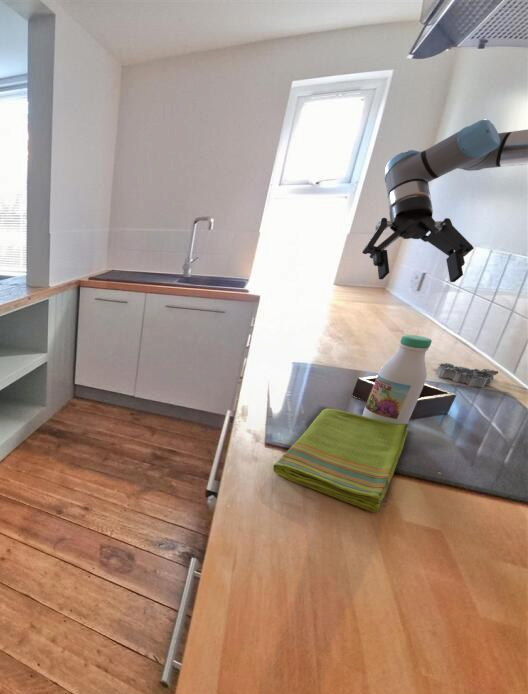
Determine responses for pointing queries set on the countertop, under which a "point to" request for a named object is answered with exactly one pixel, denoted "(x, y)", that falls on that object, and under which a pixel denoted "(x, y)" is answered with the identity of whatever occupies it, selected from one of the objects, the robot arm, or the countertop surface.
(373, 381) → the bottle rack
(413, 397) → the milk bottle
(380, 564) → the countertop surface
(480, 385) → the egg carton
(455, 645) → the countertop surface
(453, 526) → the countertop surface
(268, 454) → the countertop surface
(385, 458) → the dish towel
